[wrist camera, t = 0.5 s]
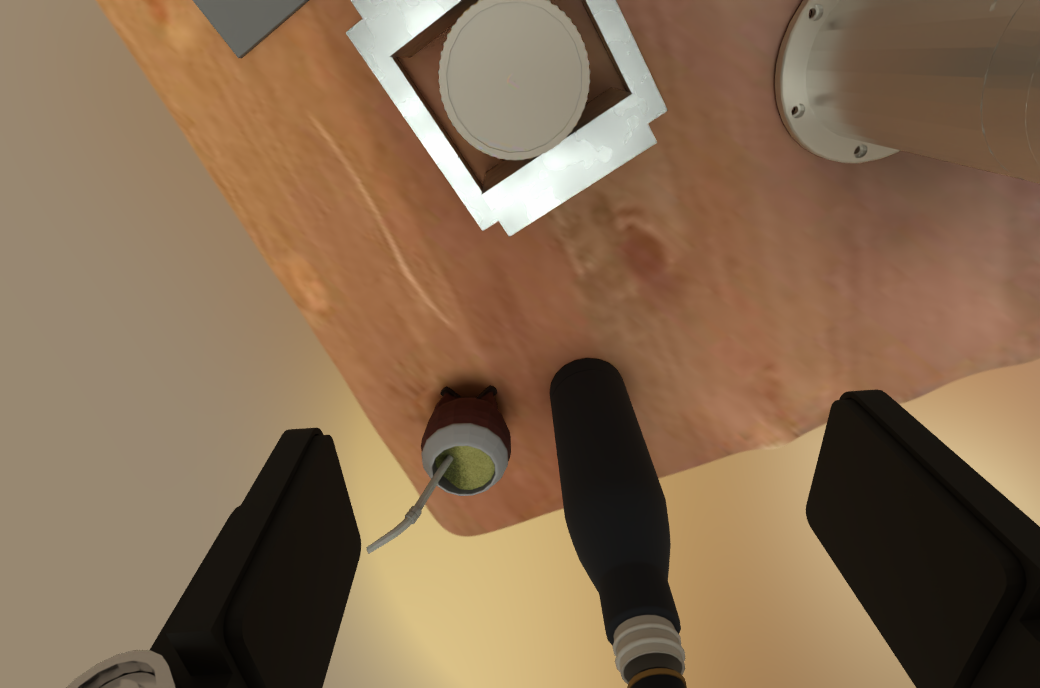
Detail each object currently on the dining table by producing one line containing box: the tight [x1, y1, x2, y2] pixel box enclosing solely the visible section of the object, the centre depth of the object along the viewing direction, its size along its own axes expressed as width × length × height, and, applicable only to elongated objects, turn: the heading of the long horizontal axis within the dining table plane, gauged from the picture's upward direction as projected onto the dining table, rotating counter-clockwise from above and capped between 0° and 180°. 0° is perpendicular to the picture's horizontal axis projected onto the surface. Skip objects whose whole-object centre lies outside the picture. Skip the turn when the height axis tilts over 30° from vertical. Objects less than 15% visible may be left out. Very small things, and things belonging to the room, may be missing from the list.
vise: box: [346, 0, 668, 237], centre depth 31 cm, size 14×17×7 cm
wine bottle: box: [550, 358, 687, 688], centre depth 33 cm, size 6×6×30 cm
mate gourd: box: [367, 385, 511, 553], centre depth 41 cm, size 8×8×15 cm
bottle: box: [438, 0, 590, 160], centre depth 28 cm, size 7×7×15 cm
